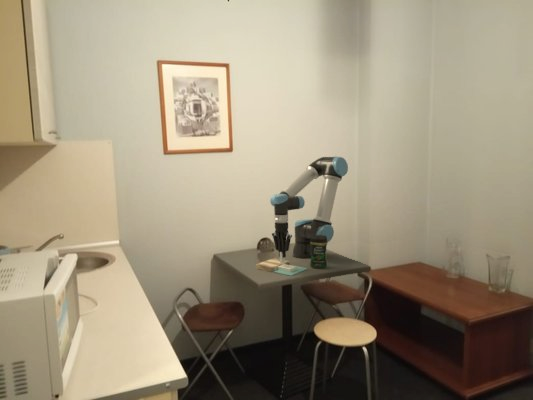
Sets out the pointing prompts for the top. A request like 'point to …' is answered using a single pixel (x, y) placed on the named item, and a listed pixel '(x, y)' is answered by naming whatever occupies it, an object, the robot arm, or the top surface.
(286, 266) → the card
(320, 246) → the coffee jar
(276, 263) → the tan flat block
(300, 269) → the mat
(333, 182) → the robot arm
